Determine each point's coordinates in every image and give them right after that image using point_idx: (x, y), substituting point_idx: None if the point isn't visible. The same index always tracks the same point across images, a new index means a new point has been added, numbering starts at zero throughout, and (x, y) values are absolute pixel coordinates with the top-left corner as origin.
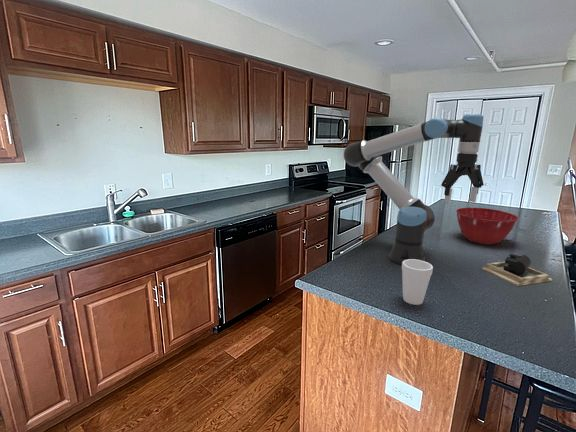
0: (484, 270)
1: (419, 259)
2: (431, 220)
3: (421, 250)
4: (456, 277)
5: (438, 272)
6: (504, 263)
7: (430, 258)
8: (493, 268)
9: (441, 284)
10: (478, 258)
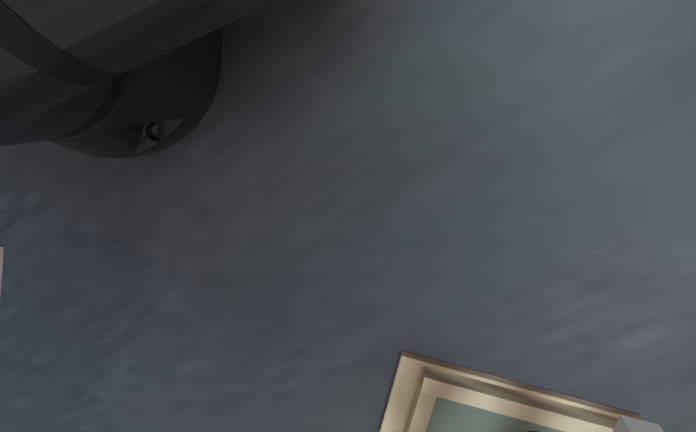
0: (397, 366)
1: (97, 154)
2: (181, 31)
3: (93, 142)
4: (182, 338)
5: (149, 260)
6: (536, 421)
7: (277, 106)
8: (412, 411)
9: (57, 344)
10: (565, 255)
